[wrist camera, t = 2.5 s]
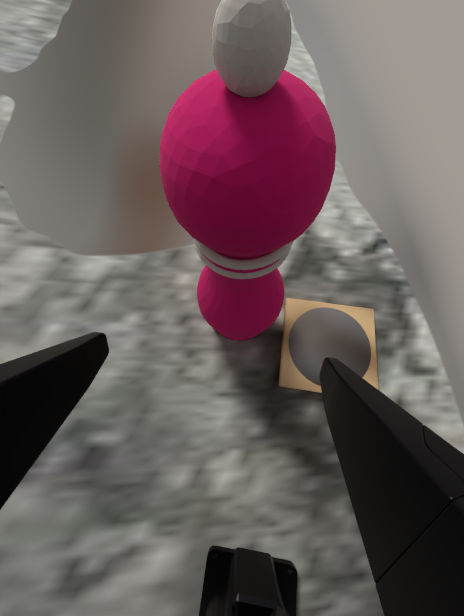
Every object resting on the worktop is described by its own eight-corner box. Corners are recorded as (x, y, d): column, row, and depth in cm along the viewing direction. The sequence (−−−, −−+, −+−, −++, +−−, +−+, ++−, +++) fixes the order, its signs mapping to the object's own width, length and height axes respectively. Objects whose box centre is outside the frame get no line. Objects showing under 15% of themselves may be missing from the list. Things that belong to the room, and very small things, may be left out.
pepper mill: (192, 299, 24) (17, -44, 5) (250, 268, 25) (297, -112, 6) (226, 359, 22) (158, 174, 3) (288, 322, 23) (553, 3, 4)
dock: (373, 400, 20) (379, 401, 19) (278, 386, 21) (280, 386, 20) (368, 311, 23) (373, 309, 22) (285, 300, 23) (286, 297, 23)
